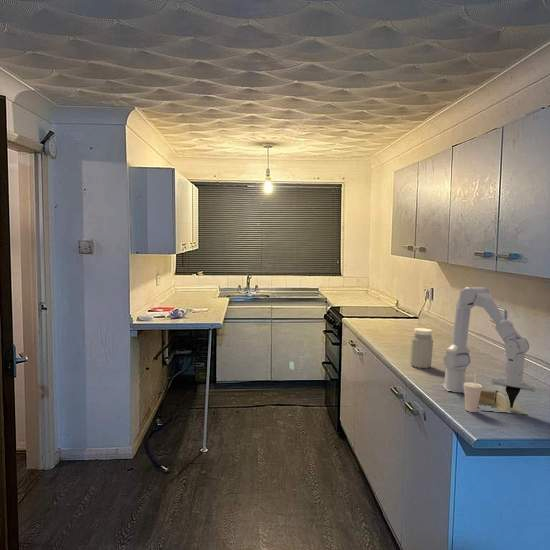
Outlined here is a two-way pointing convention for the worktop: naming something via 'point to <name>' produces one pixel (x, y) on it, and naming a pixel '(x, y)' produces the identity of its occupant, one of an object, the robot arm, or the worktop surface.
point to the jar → (421, 348)
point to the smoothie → (472, 395)
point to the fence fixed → (488, 396)
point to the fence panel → (502, 401)
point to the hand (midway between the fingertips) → (511, 407)
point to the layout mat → (515, 409)
